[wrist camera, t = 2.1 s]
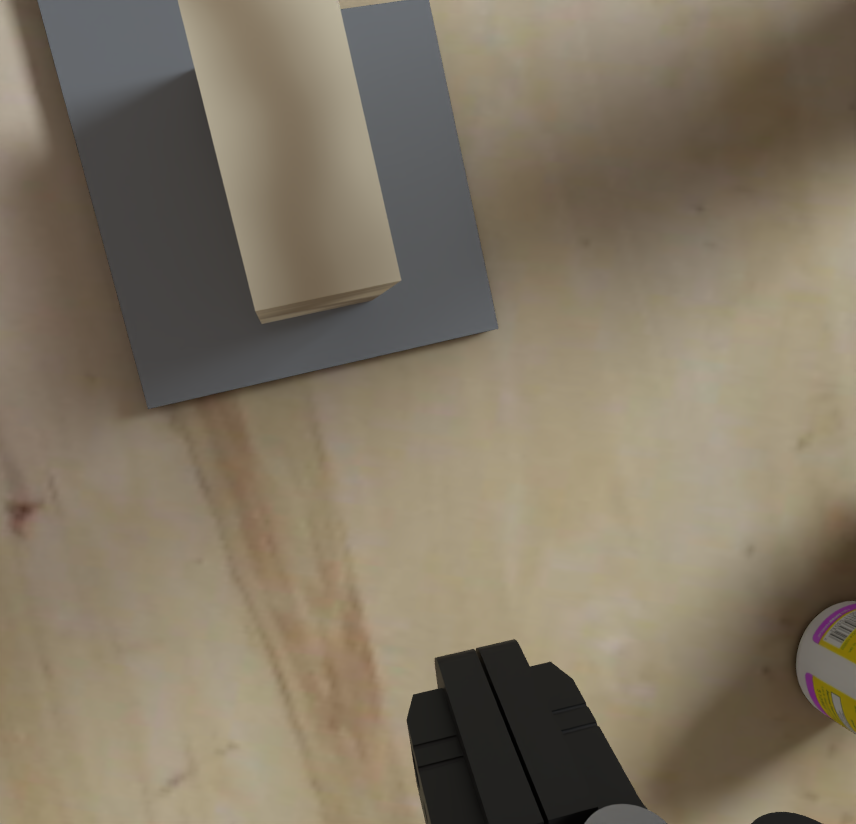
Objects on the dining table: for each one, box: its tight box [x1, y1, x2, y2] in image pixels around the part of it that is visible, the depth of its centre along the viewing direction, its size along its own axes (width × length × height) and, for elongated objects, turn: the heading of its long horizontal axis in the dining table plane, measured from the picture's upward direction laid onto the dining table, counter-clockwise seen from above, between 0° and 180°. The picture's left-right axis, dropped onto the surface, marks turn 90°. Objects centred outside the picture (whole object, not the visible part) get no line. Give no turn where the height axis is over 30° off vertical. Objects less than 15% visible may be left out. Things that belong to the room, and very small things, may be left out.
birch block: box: [178, 0, 401, 324], centre depth 27 cm, size 5×11×8 cm, turn 13°
